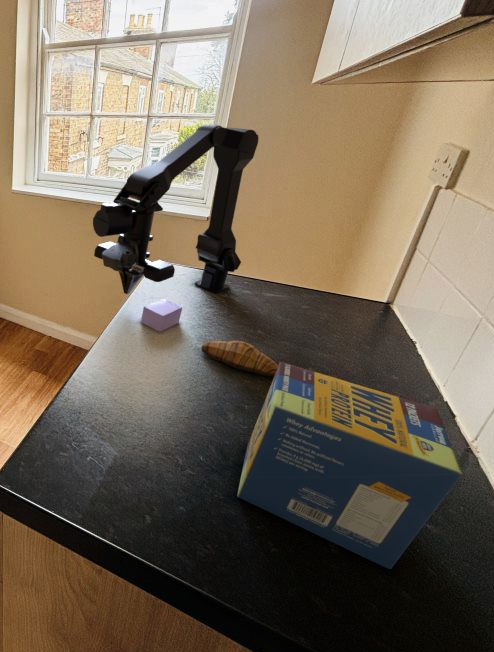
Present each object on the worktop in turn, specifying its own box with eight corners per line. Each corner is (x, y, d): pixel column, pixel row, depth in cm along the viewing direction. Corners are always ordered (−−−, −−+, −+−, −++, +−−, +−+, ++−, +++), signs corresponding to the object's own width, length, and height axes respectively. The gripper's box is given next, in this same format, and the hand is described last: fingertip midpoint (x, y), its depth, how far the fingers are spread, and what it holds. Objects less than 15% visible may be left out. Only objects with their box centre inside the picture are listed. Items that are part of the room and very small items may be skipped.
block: (159, 313, 94) (163, 298, 93) (178, 322, 91) (182, 307, 89) (140, 322, 91) (143, 306, 89) (159, 332, 87) (163, 316, 85)
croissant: (195, 359, 78) (201, 337, 76) (204, 344, 83) (209, 323, 81) (276, 388, 71) (285, 365, 69) (280, 369, 76) (289, 347, 73)
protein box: (245, 445, 59) (278, 359, 52) (381, 501, 51) (442, 408, 44) (235, 498, 52) (272, 405, 45) (393, 573, 44) (468, 474, 37)
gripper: (81, 226, 93) (74, 287, 99) (149, 250, 79) (136, 319, 86) (114, 218, 98) (106, 277, 105) (182, 240, 85) (168, 305, 91)
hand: (126, 293), depth 97 cm, fingers closed
